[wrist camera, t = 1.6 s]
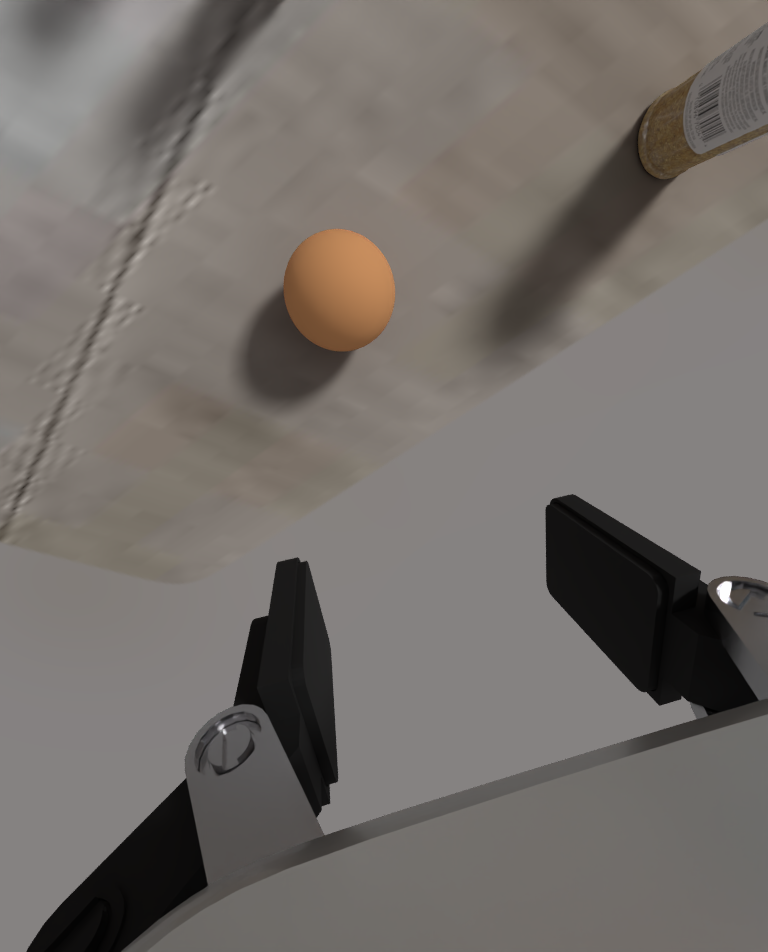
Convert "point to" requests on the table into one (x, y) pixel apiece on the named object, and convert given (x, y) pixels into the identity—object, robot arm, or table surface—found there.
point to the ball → (339, 290)
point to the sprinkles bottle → (709, 110)
